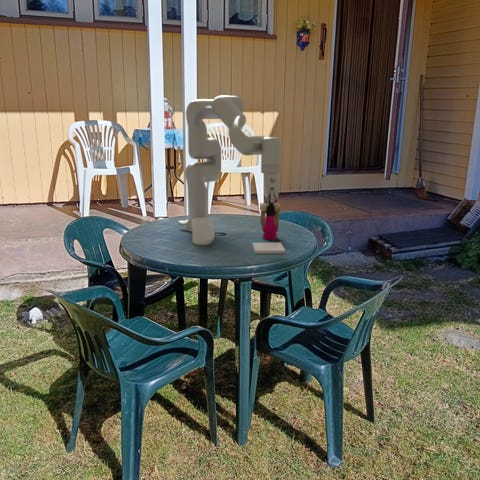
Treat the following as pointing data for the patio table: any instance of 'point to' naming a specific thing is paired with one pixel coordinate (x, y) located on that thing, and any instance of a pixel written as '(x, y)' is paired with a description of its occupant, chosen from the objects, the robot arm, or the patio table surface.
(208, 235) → the cup
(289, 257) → the patio table surface
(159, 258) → the patio table surface
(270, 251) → the tile
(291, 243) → the patio table surface
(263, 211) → the pegged wooden block
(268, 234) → the pepper mill
